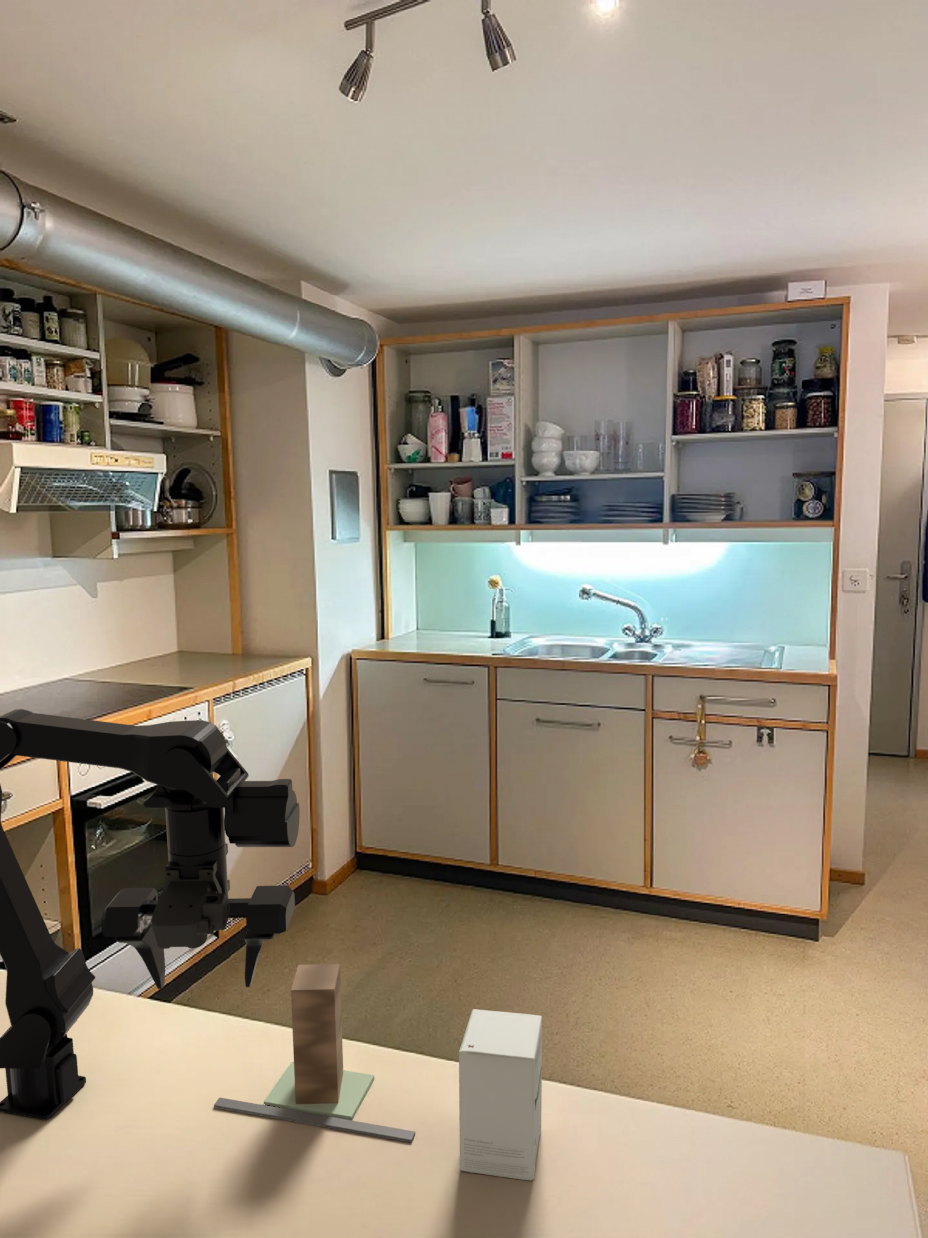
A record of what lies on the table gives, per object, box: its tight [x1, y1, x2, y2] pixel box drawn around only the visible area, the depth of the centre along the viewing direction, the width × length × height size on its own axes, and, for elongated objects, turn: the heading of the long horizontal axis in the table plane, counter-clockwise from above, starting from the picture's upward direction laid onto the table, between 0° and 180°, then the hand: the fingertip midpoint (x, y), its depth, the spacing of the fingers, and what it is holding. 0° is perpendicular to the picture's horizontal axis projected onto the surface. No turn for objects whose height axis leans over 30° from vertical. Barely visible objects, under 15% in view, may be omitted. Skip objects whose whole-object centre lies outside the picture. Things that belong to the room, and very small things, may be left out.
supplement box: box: [458, 1008, 543, 1181], centre depth 87 cm, size 7×7×13 cm
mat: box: [263, 1061, 375, 1121], centre depth 96 cm, size 10×7×1 cm
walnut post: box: [290, 963, 344, 1104], centre depth 96 cm, size 4×5×13 cm
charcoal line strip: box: [213, 1097, 416, 1143], centre depth 92 cm, size 22×1×1 cm, turn 76°
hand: (205, 986), depth 94 cm, fingers open, 9 cm apart
